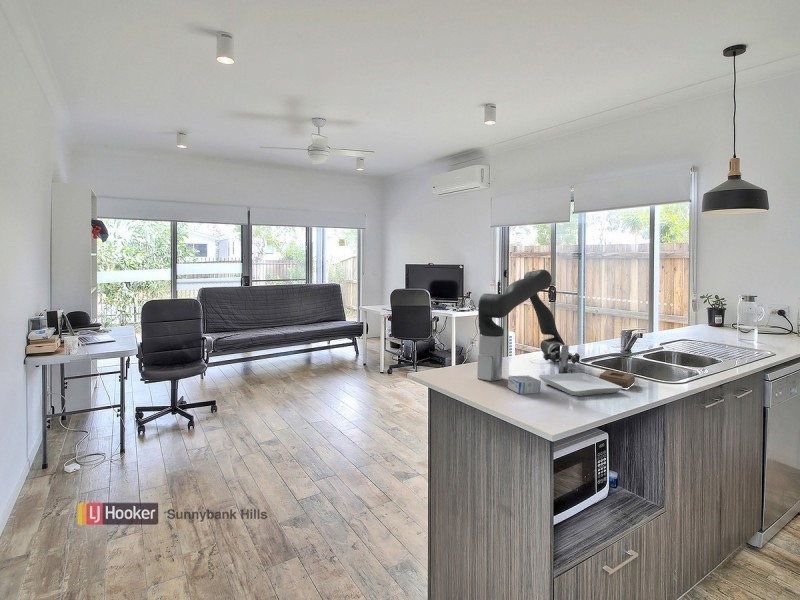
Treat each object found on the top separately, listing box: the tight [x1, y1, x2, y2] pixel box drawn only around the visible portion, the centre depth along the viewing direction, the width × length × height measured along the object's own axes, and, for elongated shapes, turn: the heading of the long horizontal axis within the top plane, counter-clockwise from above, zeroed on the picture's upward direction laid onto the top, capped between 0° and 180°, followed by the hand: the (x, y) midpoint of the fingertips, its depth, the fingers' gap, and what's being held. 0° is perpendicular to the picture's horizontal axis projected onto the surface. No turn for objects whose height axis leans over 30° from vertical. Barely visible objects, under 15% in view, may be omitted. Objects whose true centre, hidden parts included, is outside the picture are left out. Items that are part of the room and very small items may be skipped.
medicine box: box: [507, 374, 542, 395], centre depth 161 cm, size 8×4×9 cm
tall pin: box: [558, 344, 570, 374], centre depth 180 cm, size 3×3×13 cm
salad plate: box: [538, 372, 623, 397], centre depth 165 cm, size 21×21×3 cm
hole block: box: [598, 369, 636, 388], centre depth 171 cm, size 10×10×4 cm
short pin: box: [567, 367, 582, 373], centre depth 184 cm, size 3×3×5 cm
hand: (564, 360), depth 178 cm, fingers open, 7 cm apart
